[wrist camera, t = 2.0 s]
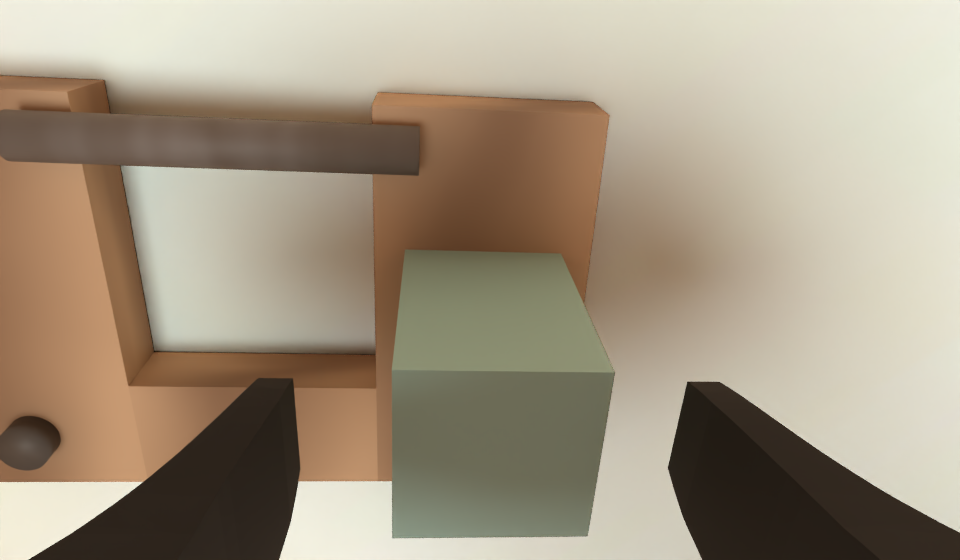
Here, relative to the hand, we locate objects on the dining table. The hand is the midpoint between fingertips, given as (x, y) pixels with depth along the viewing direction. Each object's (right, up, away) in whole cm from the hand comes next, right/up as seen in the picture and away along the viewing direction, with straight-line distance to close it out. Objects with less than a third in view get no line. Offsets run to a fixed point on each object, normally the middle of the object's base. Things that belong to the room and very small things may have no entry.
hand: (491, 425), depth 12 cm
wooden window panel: (-6, +3, +5) cm, 8 cm away
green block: (0, +2, +4) cm, 4 cm away
